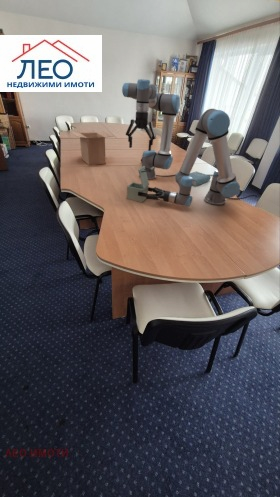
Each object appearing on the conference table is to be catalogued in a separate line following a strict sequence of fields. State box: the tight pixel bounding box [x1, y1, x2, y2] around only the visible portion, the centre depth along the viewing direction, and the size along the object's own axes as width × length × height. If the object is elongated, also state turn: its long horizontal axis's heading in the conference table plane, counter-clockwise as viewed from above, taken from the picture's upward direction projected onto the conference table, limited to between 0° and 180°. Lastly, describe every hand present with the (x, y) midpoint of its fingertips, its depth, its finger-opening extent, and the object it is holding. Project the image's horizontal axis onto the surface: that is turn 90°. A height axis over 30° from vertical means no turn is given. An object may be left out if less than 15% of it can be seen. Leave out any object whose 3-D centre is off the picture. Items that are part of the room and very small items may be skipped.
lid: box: [138, 166, 156, 189], centre depth 154 cm, size 14×10×9 cm
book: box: [189, 171, 211, 187], centre depth 203 cm, size 23×16×5 cm
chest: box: [126, 181, 149, 203], centre depth 164 cm, size 13×10×10 cm
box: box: [70, 129, 114, 166], centre depth 229 cm, size 44×36×27 cm
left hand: (139, 149), depth 146 cm, fingers open, 13 cm apart
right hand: (141, 190), depth 162 cm, fingers open, 11 cm apart
